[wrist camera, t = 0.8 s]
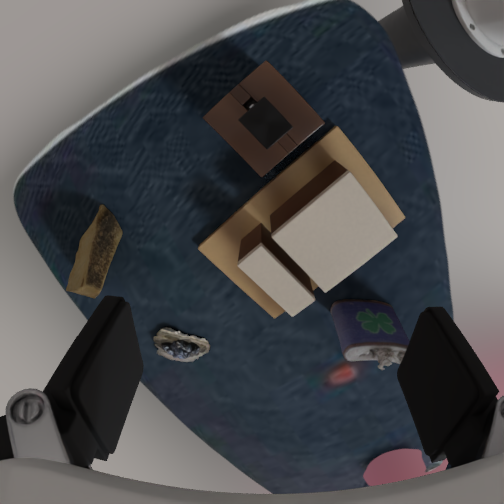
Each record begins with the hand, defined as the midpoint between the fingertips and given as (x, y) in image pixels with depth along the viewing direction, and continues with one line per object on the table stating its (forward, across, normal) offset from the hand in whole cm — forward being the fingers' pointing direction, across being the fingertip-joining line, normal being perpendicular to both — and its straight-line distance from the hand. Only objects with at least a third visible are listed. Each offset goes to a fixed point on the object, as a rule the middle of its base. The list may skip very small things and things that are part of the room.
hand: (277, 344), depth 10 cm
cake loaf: (+25, -7, +4) cm, 26 cm away
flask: (+26, -14, +17) cm, 34 cm away
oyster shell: (+26, +10, +24) cm, 37 cm away
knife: (+25, 0, -6) cm, 25 cm away
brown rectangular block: (+25, -2, +9) cm, 26 cm away
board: (+26, -4, +6) cm, 27 cm away
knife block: (+26, 0, -6) cm, 26 cm away
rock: (+26, +20, +10) cm, 34 cm away
